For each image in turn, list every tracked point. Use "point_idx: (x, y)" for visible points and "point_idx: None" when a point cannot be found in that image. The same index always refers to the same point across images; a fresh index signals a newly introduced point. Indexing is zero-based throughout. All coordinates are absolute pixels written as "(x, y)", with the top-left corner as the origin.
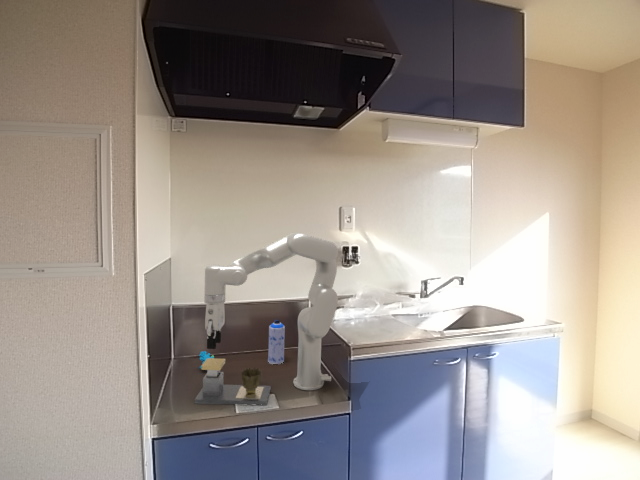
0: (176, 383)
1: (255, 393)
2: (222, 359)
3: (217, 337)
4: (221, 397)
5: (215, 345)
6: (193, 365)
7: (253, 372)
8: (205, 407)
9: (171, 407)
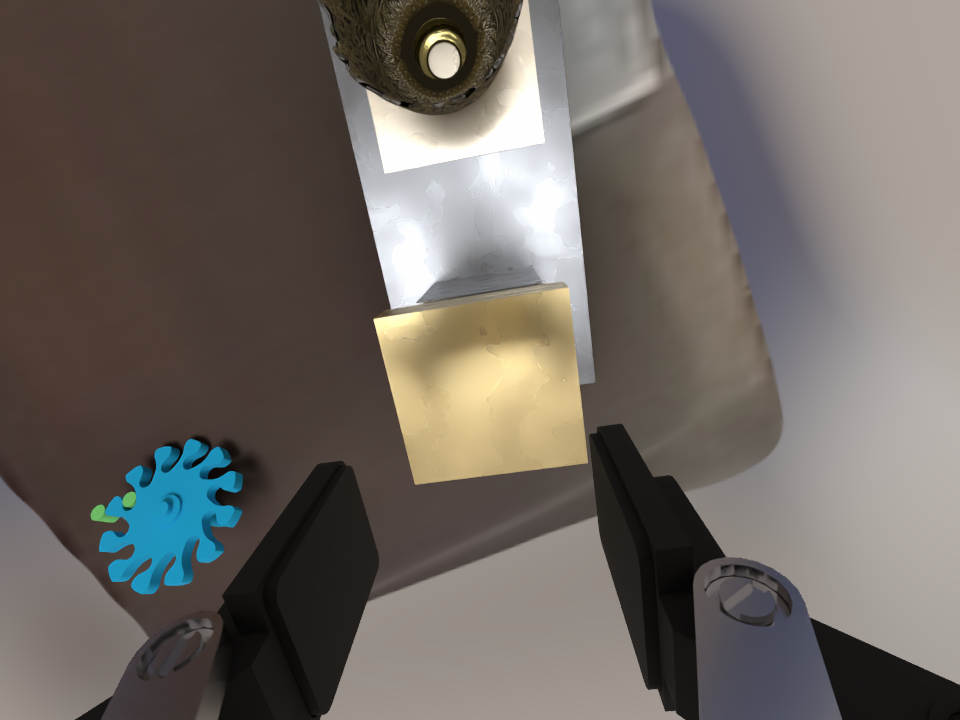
0: (416, 545)
1: None
2: (401, 339)
3: (329, 561)
4: (548, 241)
5: (634, 452)
6: (206, 562)
7: (342, 18)
8: (621, 299)
9: (642, 458)
